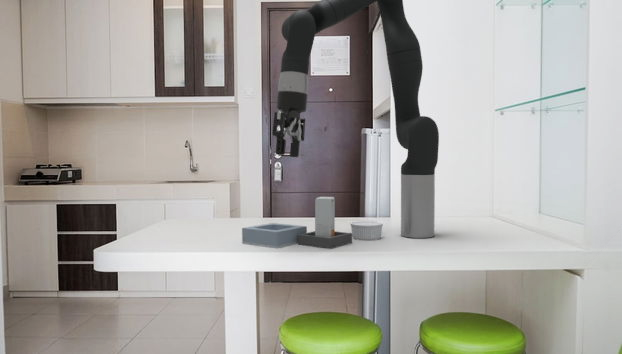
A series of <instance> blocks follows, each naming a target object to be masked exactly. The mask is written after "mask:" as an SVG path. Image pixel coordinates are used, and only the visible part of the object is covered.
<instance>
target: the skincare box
mask: <svg viewBox="0 0 622 354" xmlns="http://www.w3.org/2000/svg"><path fill="white" fill-rule="evenodd" d="M335 199H336V198H335V197H334V196H319V197H318V196H317V197H316V198H315V199H314V200H315V203H314V204H315V205H314V206H315V207H314V209H315V210H314V223H315V224H314V231H315V236H320V237H328V238H329V237H334V234H335V232H336V231H335V228H336V227H335V224H336V223H335V212H336V211H335V207H336V205H335V203H336V202H335Z"/></svg>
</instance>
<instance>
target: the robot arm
mask: <svg viewBox="0 0 622 354" xmlns="http://www.w3.org/2000/svg"><path fill="white" fill-rule="evenodd" d="M374 3H376V4H377V8H378V11H379V15H380V20H381V25H382V32H383V37H384V43H385V50H386V58H387V59H386V60H387V65H388V70H389V75H390V82H391V90H392V95H393V102H394V116H395V117H394V118H395V133H396V134H395V135H396V139H397V141H398V143H399V145H400V146H401V147H402V148H403V149H405V150H406V151H407V157H406V159H405V161H404V162H403V163H402V164H401V166H400V236H402V237H406V238H413V239H414V238H415V239H425V238H433V237H435V212H436V211H435V203H436V202H435V191H436V190H435V188H436V186H435V184H436V183H435V180H436V179H435V178H436V176H435V173H436V172H435V171H436V167H437V165H438V160H439V145H440V143H439V142H440V138H439V137H440V136H439V135H440V133H439V128H438V125H437V123H436V121H435V120H433V119H432V117H430V116H424V115H423V116H421V113H420V111H421V110H420V107H419V91H420V86H421V82H422V76H423V70H424V69H423V58H422V50H421V45H420V41H419V39H418V37H417V35H416V33H415V32H414V30H413V28H412V27H411V26H410V24H409V22H408V20H407V18H406V17H407V16H406V14H405V9H404V1H403V0H319V1H317V2H316V3H315V4H313V5H312V6H311V7H308V8H307V9H298V10H295V11H294V12H292V13H291V14H290V15H289V16H288V17H286V18H285V20H283V22H282V26H281V35H282V37H283V38H284V40H285V41H286V47H285V50H284V51H283V53H282V56H281V63H280V75H279V80H278V86H277V89H278V90H277V96H276V97H277V100H276V109H277V110H278V111H277V110H275V111H274V115H273V116H274V117H273V124H272V132H271V133H272V136H273V137H275V139H276V146H275V155H278V156H279V155H280V156H284V155H285V154H286V145H287V140H286V139H287V138H288V136H289V137H290V141H291V142H290V149H289V150H290V151H289V156H290V157H291V158H299V155H300V144H301V143H302V142H304V140H305V131H306V130H305V129H306V118H303V117H301V113H305V112H306V111H307V105H308V103H307V102H308V92H309V90H308V89H309V68H310V56H311V53H312V50H313V45H314V41H315V36H316V35H317V34H319V33H320V32H322V31H324V30H327V29H328V28H331V27H333V26H335V25H337V24H339V23H341V22H343V21H345V20H347V19H349V18H351V17H353V16H354V15H356V14H357V13H359V12H360V11H362V10H364V9H366V8H367V7H369V6H371V5H372V4H374Z"/></svg>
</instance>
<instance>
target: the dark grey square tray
mask: <svg viewBox="0 0 622 354" xmlns="http://www.w3.org/2000/svg"><path fill="white" fill-rule="evenodd" d="M352 243H353V237H352V232H342V231H335V234H334V237H329V238H328V237H320V236H315V230H313V231H310V232H307V233H304V234H299V235H298V244H297V245H298V246H307V247H312V248H313V247H315V248H316V247H317V248H321V249H333V248H339V247H341V246H345V245H349V244H352Z"/></svg>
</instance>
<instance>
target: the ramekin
mask: <svg viewBox="0 0 622 354" xmlns="http://www.w3.org/2000/svg"><path fill="white" fill-rule="evenodd" d="M383 224H384V223H383V222H382V221H378V220H356V221H355V220H354V221H351V222H350V229H351V233H352V239H354V240H357V239H358V240H359V241H378V240H379V239H381V238H382V232H383V231H382V230H383Z"/></svg>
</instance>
